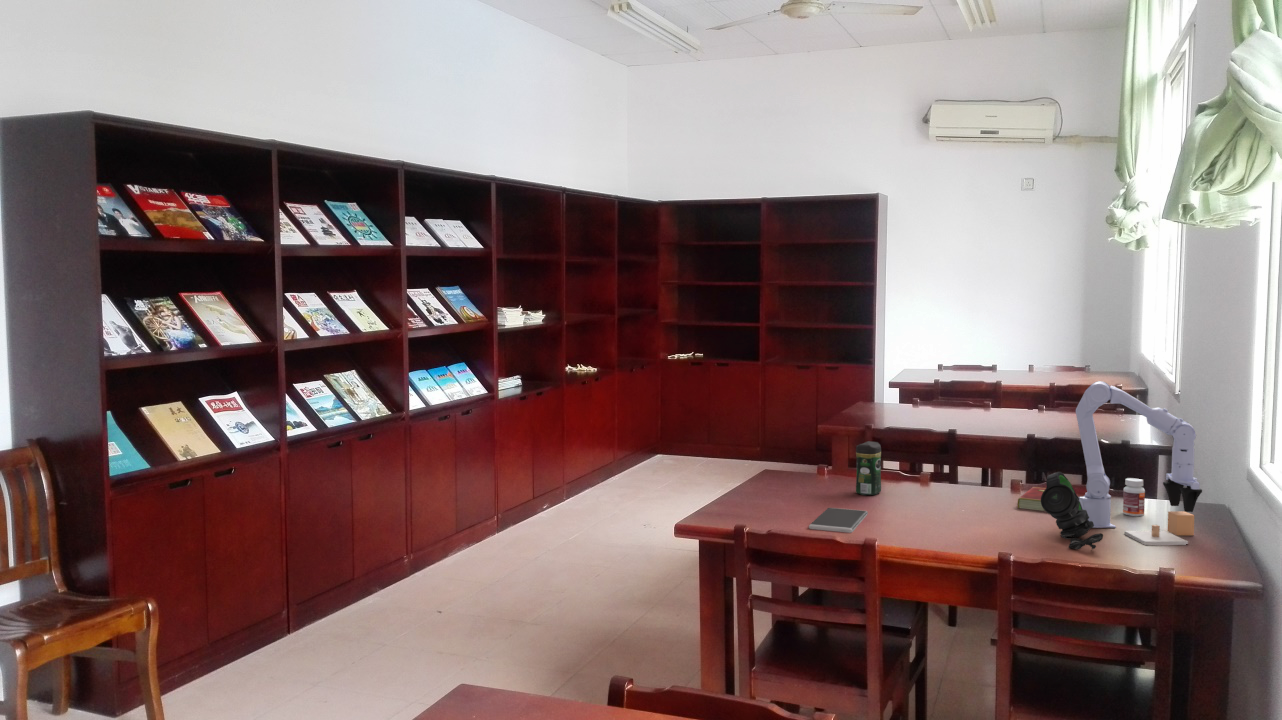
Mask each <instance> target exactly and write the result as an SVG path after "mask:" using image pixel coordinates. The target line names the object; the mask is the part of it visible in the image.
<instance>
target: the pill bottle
mask: <svg viewBox="0 0 1282 720" xmlns="http://www.w3.org/2000/svg"><path fill="white" fill-rule="evenodd" d="M1124 485H1126V486H1125V487H1123V494H1122V495H1123V496H1122V497H1123V498H1122V499H1123V501H1122V504H1123V505H1122V513H1123V514H1124V515H1125V516H1126V515H1127V516H1130V517H1131V516H1132V517H1143V516H1144V515H1145V506H1146V505H1145V498H1146V497H1145V496H1146V490H1145V488H1144V479H1139V478H1134V477H1127V478H1125V482H1124Z"/></svg>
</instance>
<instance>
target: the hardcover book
mask: <svg viewBox="0 0 1282 720" xmlns="http://www.w3.org/2000/svg"><path fill="white" fill-rule="evenodd" d="M1046 488H1047V487H1039V486H1037V487H1035V486H1032V487H1031V488H1030V489H1029V490H1027V491H1025V493H1023V494H1022V495H1021V496H1019V497H1018V499H1017V509H1024V510H1025V509H1026V510H1032V511H1034V510H1035V511H1041V512H1042V511H1043V512H1046V511H1045V510H1044V509H1043V507H1042V505H1041V496H1042V493H1043V492H1044V490H1045V489H1046Z"/></svg>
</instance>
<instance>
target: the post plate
mask: <svg viewBox="0 0 1282 720" xmlns="http://www.w3.org/2000/svg"><path fill="white" fill-rule="evenodd" d="M1123 534H1124V535H1125V536H1127V537H1129V538H1131V539H1133V540H1134V541H1136V542H1138V543H1140V544H1143V545H1144V546H1187V545H1186V544H1189V541H1188V540H1186V539H1183V538H1181V537H1180V536H1178V535H1175V534H1172V533H1170V532H1168V530H1161V529H1160V525H1157V524H1152V525H1151V530H1124V533H1123Z"/></svg>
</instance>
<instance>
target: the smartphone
mask: <svg viewBox="0 0 1282 720" xmlns="http://www.w3.org/2000/svg"><path fill="white" fill-rule="evenodd" d="M868 513H869V511H867V510H860V509H849V508H839V507H838V508H837V507H827V508H826V509H825V510H824V511H823V512H822V513H821V514H820V515H818V516H817V517H816V518H815V519H814V520H813V521H812V522H811V523H810V524H809V525H808V529H810V530H818V531H825V532H839V533H840V532H841V533H848V534H852V533H853V532H854V531H855V530H856V528H858V527H859V525H860V524H861V523H862V522H863V520H864V519H865V518H866V517H867V515H868Z"/></svg>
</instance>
